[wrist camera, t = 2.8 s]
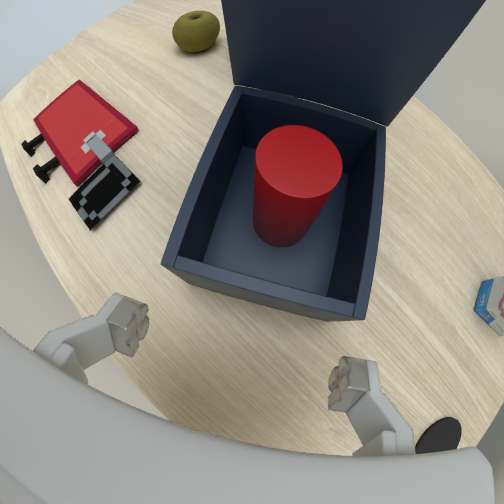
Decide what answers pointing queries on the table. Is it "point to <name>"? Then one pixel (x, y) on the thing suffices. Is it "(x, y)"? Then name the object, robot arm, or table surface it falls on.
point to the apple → (196, 31)
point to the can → (292, 182)
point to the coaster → (440, 437)
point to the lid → (343, 48)
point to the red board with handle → (86, 149)
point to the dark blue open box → (317, 237)
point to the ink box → (492, 303)
